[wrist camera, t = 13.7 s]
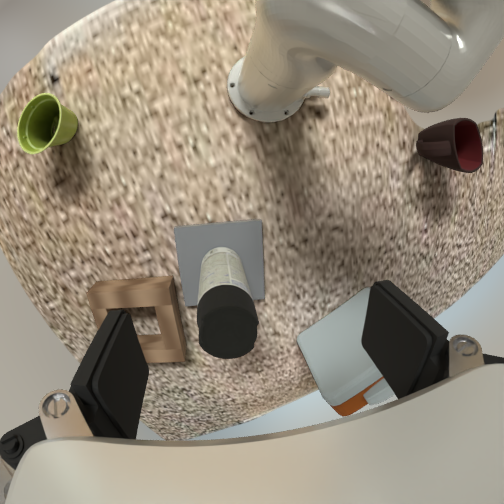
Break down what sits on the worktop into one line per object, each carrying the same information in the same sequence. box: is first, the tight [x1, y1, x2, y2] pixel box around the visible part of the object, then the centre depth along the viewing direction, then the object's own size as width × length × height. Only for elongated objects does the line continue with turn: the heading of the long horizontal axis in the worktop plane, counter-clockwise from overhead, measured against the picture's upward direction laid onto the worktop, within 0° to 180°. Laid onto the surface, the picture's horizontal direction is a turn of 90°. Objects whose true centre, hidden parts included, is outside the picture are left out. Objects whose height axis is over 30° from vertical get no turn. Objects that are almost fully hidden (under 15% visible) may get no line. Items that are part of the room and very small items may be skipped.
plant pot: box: [17, 93, 78, 154], centre depth 31 cm, size 9×9×9 cm
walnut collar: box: [86, 276, 186, 363], centre depth 45 cm, size 15×15×5 cm
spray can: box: [197, 247, 259, 359], centre depth 36 cm, size 7×7×20 cm
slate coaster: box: [174, 219, 265, 306], centre depth 46 cm, size 14×14×1 cm
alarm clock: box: [297, 287, 395, 416], centre depth 44 cm, size 18×9×21 cm, turn 125°
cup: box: [416, 118, 483, 173], centre depth 38 cm, size 10×14×12 cm
